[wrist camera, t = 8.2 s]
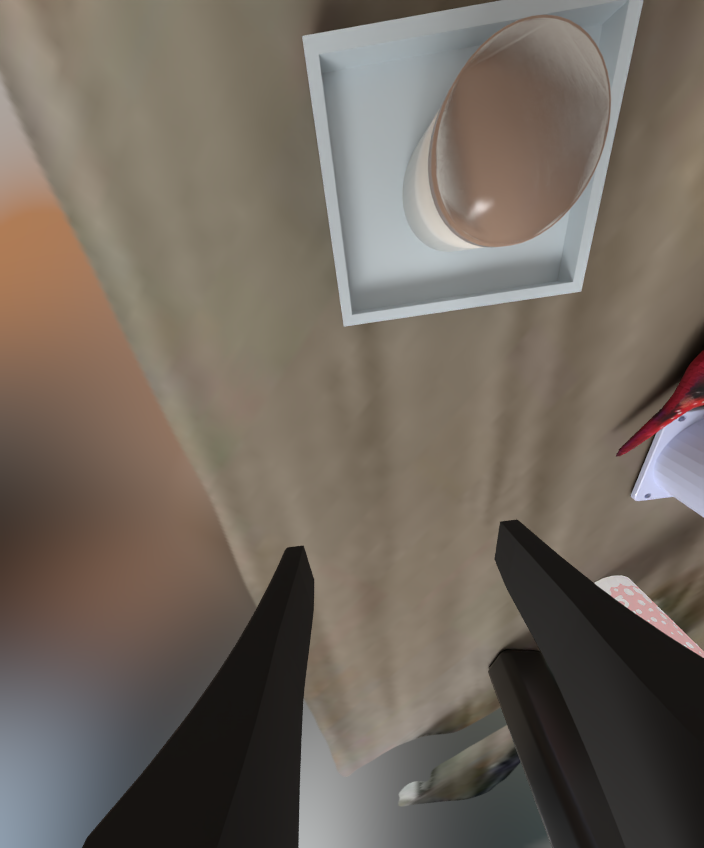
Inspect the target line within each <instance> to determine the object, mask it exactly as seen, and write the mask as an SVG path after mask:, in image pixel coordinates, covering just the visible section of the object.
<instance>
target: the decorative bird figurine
mask: <svg viewBox="0 0 704 848" xmlns="http://www.w3.org/2000/svg"><path fill="white" fill-rule="evenodd" d="M703 405H704V350H703V351H702V352H701V353H700V354H699V355H698V356H697V357H696V358H695V359H694V360H693V361H692V362H691V363H690V365H689V366H688V368H687V369H686V371H685V373H684V375H683V377H682V379H681V381H680V383H679V385H678V386H677V388H676V390H675V392H674V394H673V395H672V396H671V397H670V399H669V400H668V401H667V403H666V404H665V405H664V406H663V408H662V409H660V410H659V412H658V413H656V414H655V415H654V416H653V417H652V418H651V419H650V420H649V421H648V422H647V423H646V424H645V425H644V426H643V427H642V428H641V429H640V430H639V431H638V432H636V433H635V435H634V436H632V437H631V438H630V439H629V440H628V441H627V442H626V443H625V444H624V445H623V446H622V448H620V449H619V451H618V453H617V454H616V456H621V455H623V454H625V453H627V452H629V451H630V450H631V449H633V448H635V447H636V446H637V445H639V444H641V443H642V442H643V441H645V440H646V439H648V438H650V437H651V436H652V435H654V434H655V433H657V432H658V431H659V430H661V429H663V428H664V427H665V426H667V425H668V424H670V423H671V422H673V421H674V420H675V419H677V418H679V417H680V416H682V415H683V414H685V413H686V412H688V411H690V410H691V409H693V408H696V407H699V406H703Z"/></svg>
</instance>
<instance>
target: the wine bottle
mask: <svg viewBox="0 0 704 848" xmlns="http://www.w3.org/2000/svg"><path fill="white" fill-rule="evenodd" d="M488 673H489V676H490V679H491V681H492V684H493V687H494V690H495V692H496V695H497V698H498V701H499V703H500V706H501V709H502V712H503V714H504V717H505V720H506V723H507V725H508V728H509V731H510V734H511V736H512V739H513V742H514V745H515V747H516V750H517V753H518V756H519V758H520V761H521V764H522V767H523V769H524V772H525V775H526V778H527V780H528V783H529V786H530V788H531V791H532V794H533V797H534V799H535V802H536V804H537V808H538V810H539V813H540V816H541V818H542V821H543V824H544V827H545V830H546V832H547V835H548V838H549V841H550V843H551V846H552V848H626V847H625V845H624V842H623V840H622V837H621V834H620V832H619V829H618V827H617V824H616V822H615V819H614V816H613V814H612V811H611V809H610V806H609V804H608V801H607V799H606V796H605V794H604V791H603V789H602V786H601V784H600V782H599V779H598V777H597V774H596V772H595V769H594V767H593V765H592V762H591V760H590V757H589V755H588V752H587V750H586V748H585V746H584V743H583V741H582V739H581V736H580V734H579V732H578V729H577V727H576V725H575V722H574V720H573V718H572V715H571V713H570V711H569V709H568V706H567V704H566V702H565V700H564V698H563V695H562V693H561V691H560V689H559V686H558V684H557V682H556V680H555V678H554V675H553V674H552V672H551V670H550V668H549V666H548V664H547V662H546V660H545V658H544V656H543V654H542V653H541V652H537V651H518V650H505V651H503V652H502V653H501V654H499V656H498V657H497V659H496V660H495V661H494V663H493V664H492V665H491V667H490V668H489V671H488Z"/></svg>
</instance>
